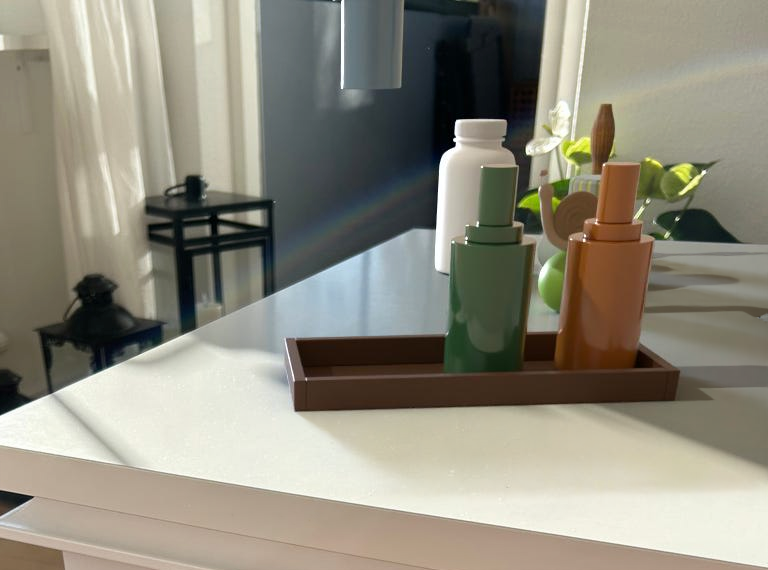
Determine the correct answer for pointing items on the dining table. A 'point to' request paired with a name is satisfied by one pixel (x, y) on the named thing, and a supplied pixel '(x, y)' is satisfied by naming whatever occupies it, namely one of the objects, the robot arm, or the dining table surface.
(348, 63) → the blue bottle
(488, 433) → the dining table surface
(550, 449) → the dining table surface
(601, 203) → the amber bottle
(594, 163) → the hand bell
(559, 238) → the snail figurine
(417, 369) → the tray
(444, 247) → the pill bottle
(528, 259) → the green bottle
